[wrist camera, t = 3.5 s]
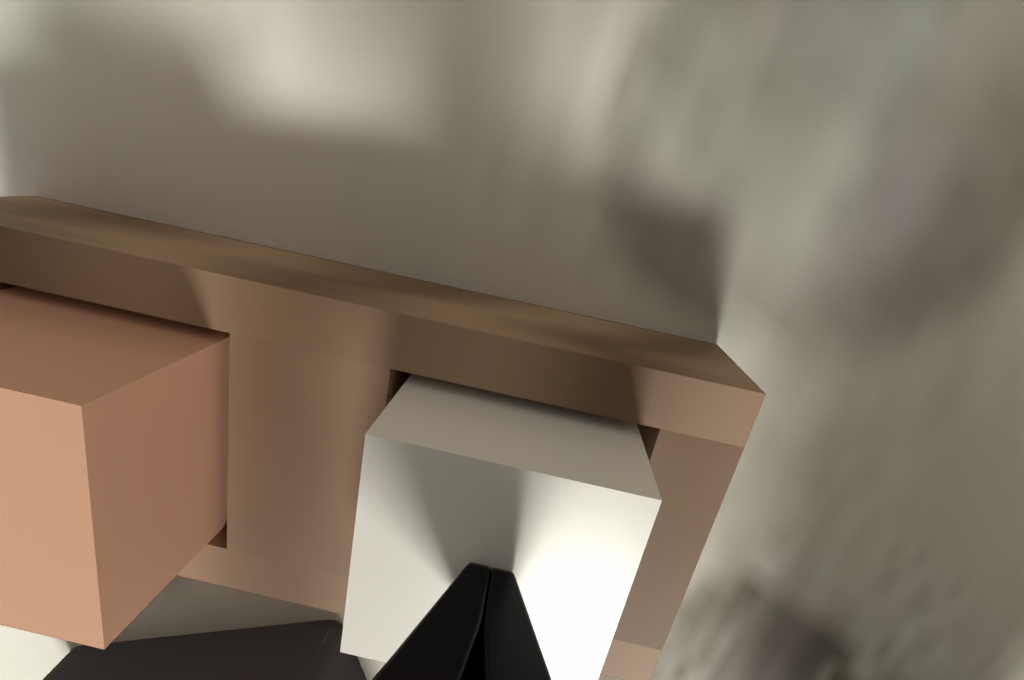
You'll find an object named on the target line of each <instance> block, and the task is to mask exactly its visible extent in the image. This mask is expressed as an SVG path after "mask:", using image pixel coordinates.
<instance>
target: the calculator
mask: <svg viewBox="0 0 1024 680" xmlns="http://www.w3.org/2000/svg"><path fill="white" fill-rule="evenodd" d="M342 631H343V625H342V624H341V623H339V622H337V621H334V620H323V621H313V622H303V623H294V624H284V625H275V626H265V627H256V628H246V629H237V630H227V631H218V632H208V633H198V634H189V635H179V636H170V637H160V638H151V639H141V640H132V641H122V642H113V643H110V644H109V645H108V646H107V647H106V649H105V650H104V649H100V648H96V647H91V646H87V645H84V646H78V647H75V648H73V649H72V650H71V651H70V652H69V653H68V654H67V655H66V656H65V657H64V658H63V659H62V660H61V661H60V662H59V663H58V664H57V665H56V667H55V668H54V669H53V670H52V671H51V672H50V673H49V674H48V675H47V676H46V677H45V678H44V679H43V680H366V677H365V675H364V672H363V670H362V668H361V665H360V663H359V660H358V658H357V656H355V655H350V654H346V653H342V652H340V648H341V639H342Z"/></svg>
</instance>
